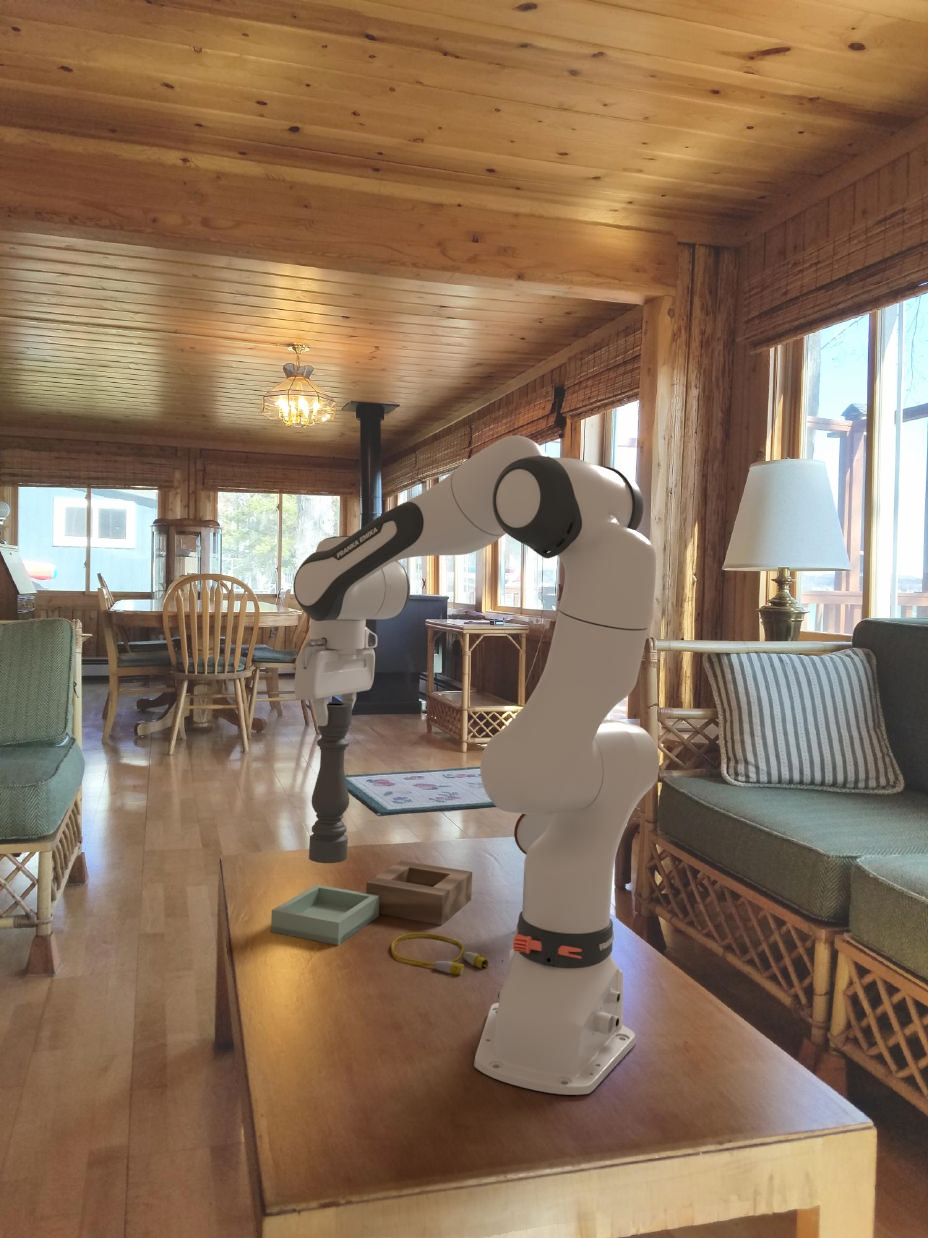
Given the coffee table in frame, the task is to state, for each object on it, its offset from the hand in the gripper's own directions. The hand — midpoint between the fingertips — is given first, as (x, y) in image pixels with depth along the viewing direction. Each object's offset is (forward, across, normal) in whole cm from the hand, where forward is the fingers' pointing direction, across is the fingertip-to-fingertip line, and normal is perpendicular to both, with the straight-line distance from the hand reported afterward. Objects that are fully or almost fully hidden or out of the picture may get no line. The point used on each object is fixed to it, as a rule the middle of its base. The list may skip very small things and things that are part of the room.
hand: (334, 722), depth 145 cm
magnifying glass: (+33, +15, -31) cm, 48 cm away
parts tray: (+33, 0, 0) cm, 33 cm away
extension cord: (+34, -4, -20) cm, 40 cm away
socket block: (+33, +15, -10) cm, 38 cm away
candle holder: (+22, 0, 0) cm, 22 cm away
